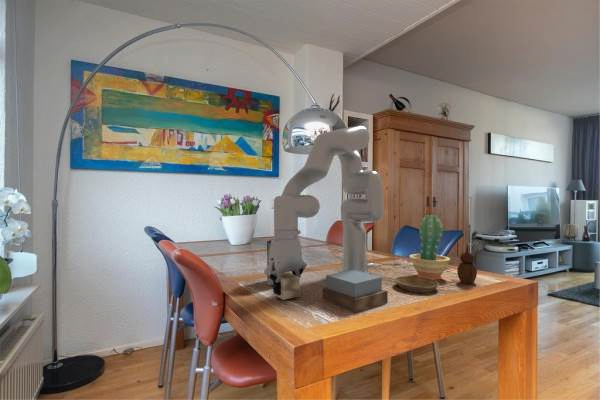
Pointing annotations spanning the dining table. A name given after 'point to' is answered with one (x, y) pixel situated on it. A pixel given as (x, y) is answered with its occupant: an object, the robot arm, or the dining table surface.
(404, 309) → the dining table surface
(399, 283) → the plant saucer
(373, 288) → the tower top
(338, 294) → the tower bottom
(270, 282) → the coffee box
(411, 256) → the potted cactus
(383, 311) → the dining table surface
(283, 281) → the maple cube
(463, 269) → the wooden figurine
